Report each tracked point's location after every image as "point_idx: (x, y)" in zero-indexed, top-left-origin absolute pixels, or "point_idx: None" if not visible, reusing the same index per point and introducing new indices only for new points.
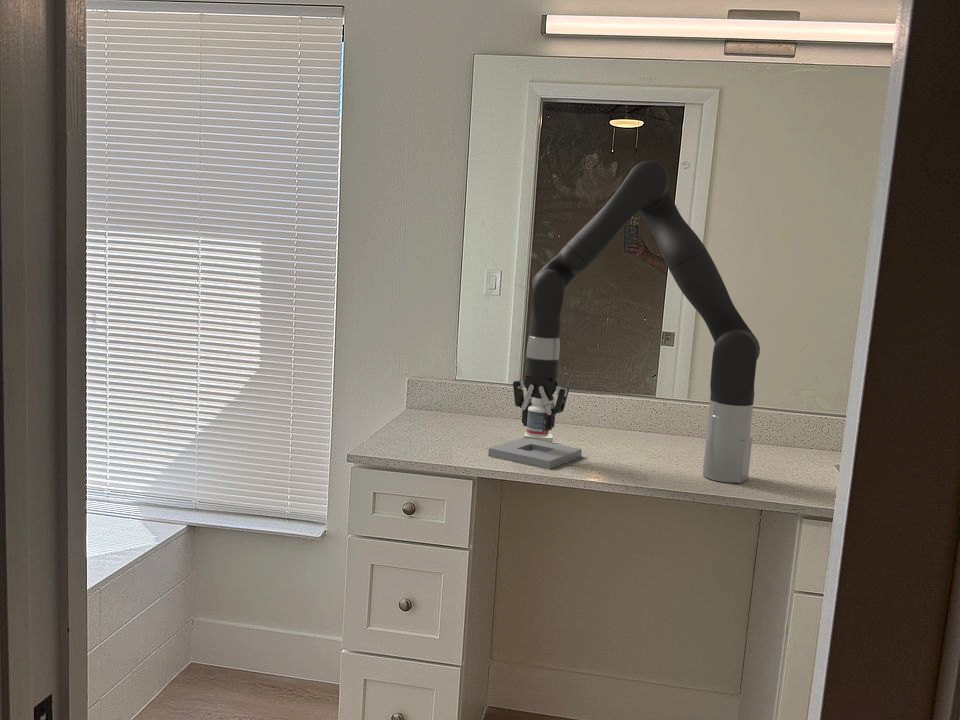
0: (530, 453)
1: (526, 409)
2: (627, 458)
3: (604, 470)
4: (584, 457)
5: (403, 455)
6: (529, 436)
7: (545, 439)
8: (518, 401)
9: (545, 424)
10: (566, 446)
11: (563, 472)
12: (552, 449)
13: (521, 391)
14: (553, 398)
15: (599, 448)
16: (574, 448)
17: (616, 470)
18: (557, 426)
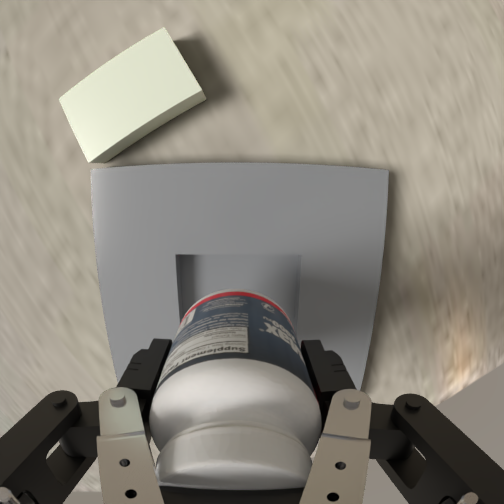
0: None
1: (147, 434)
2: (479, 88)
3: (475, 285)
4: None
5: None
6: (106, 149)
7: (172, 109)
8: (83, 468)
9: None
10: (320, 172)
11: (391, 390)
12: (289, 254)
13: (33, 486)
14: (365, 473)
15: (359, 3)
16: (361, 181)
17: (497, 258)
18: None
